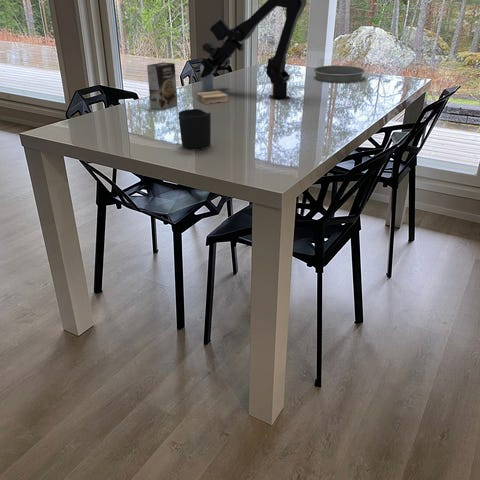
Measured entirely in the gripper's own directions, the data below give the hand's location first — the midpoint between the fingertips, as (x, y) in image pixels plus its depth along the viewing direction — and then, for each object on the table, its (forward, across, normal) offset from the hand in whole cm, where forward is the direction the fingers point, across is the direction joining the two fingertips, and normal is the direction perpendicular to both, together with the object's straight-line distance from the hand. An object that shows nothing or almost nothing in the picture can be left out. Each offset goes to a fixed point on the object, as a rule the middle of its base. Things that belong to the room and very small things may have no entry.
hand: (204, 76), depth 210 cm
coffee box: (+7, +30, +3) cm, 31 cm away
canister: (+4, 0, +6) cm, 7 cm away
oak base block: (-2, +14, +12) cm, 18 cm away
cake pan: (-30, -48, +40) cm, 69 cm away
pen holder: (-16, +70, +26) cm, 76 cm away
